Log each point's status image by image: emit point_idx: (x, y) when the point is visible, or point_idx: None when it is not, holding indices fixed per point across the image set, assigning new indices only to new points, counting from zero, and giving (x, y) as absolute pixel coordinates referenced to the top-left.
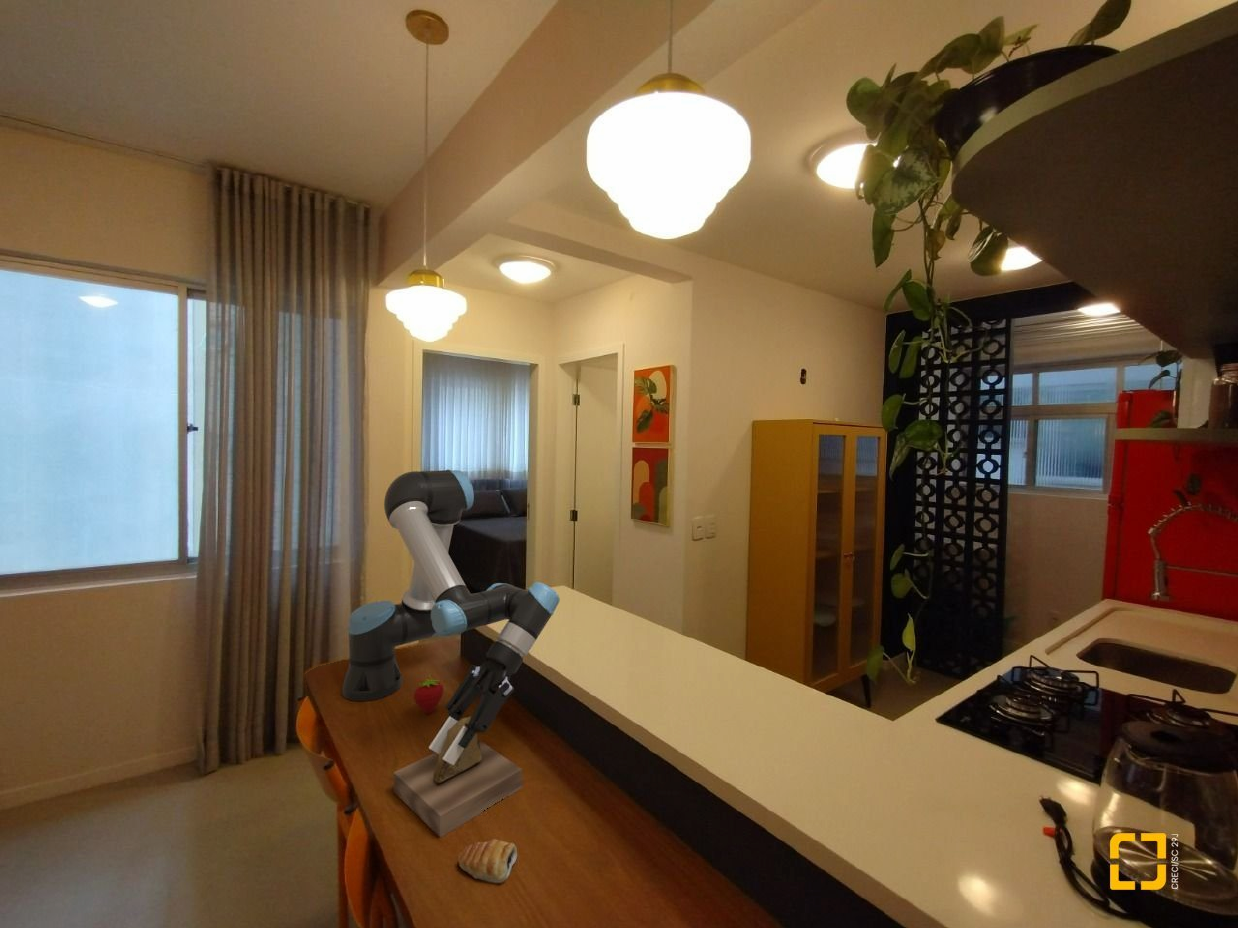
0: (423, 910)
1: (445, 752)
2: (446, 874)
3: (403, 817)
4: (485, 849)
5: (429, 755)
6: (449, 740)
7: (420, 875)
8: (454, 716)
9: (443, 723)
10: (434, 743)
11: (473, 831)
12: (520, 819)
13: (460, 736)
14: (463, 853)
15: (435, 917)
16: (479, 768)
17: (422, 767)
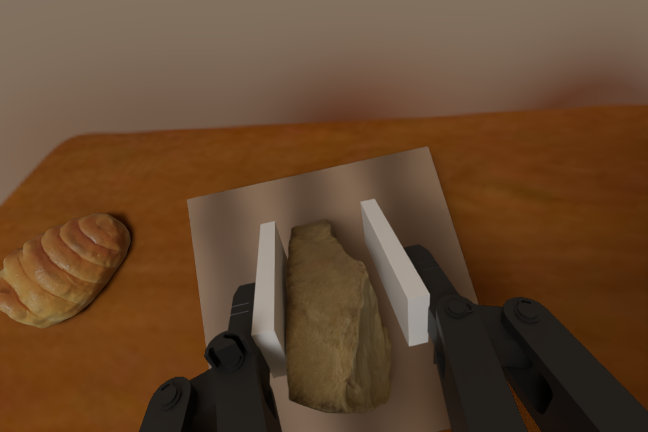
0: (74, 143)
1: (309, 243)
2: (115, 194)
3: (314, 165)
4: (40, 256)
5: (459, 247)
6: (324, 263)
7: (145, 156)
8: (433, 326)
9: (436, 266)
10: (366, 214)
11: (182, 275)
12: (145, 384)
13: (255, 296)
14: (90, 221)
15: (48, 155)
16: None
17: (409, 215)
